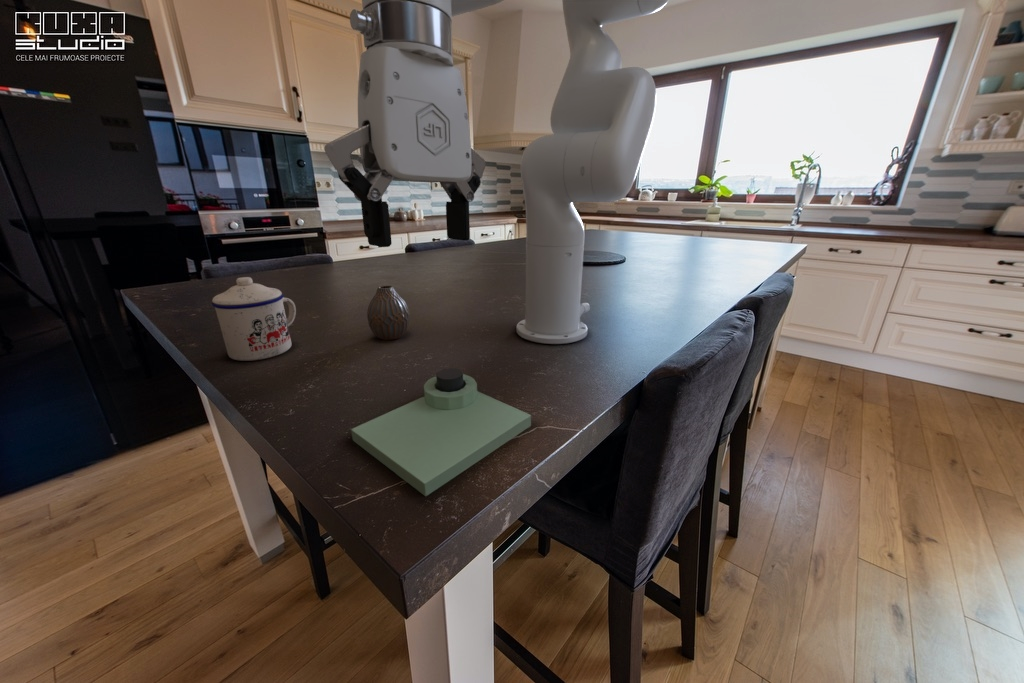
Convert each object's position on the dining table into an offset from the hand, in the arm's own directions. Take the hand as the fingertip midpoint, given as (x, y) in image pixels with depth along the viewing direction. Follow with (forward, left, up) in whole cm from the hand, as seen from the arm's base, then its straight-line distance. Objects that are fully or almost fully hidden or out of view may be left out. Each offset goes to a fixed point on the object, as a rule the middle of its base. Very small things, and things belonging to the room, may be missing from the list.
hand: (422, 242), depth 41 cm
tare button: (0, +3, -16) cm, 16 cm away
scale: (+4, +6, -19) cm, 20 cm away
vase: (-9, -24, -19) cm, 32 cm away
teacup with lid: (+7, -34, -19) cm, 39 cm away
